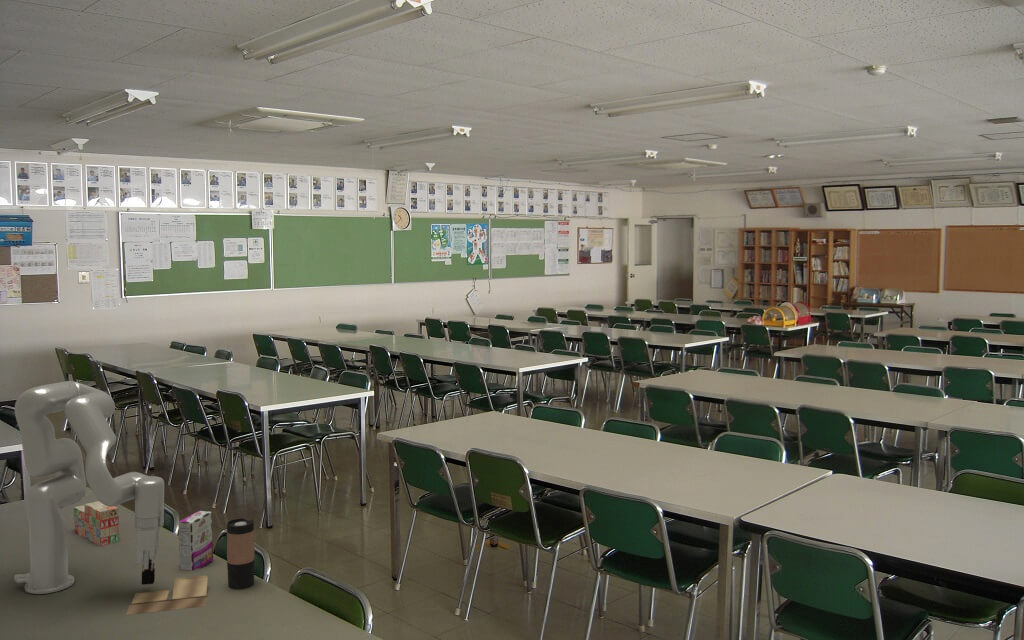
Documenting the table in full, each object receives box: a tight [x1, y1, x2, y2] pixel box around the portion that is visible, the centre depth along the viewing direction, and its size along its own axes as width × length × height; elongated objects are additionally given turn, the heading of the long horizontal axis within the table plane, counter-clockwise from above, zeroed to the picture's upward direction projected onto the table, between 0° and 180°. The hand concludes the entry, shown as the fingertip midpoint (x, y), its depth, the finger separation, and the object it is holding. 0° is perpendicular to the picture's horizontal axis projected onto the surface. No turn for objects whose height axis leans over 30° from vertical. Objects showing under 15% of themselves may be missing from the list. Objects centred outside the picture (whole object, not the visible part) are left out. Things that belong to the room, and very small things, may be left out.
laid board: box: [125, 595, 208, 616], centre depth 217 cm, size 20×7×1 cm, turn 107°
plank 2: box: [172, 574, 209, 599], centre depth 225 cm, size 9×7×1 cm
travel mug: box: [226, 517, 256, 590], centre depth 231 cm, size 8×8×20 cm
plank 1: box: [130, 589, 170, 604], centre depth 222 cm, size 9×7×1 cm
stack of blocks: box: [73, 500, 120, 547], centre depth 272 cm, size 21×6×12 cm, turn 50°
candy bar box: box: [177, 510, 214, 571], centre depth 246 cm, size 11×5×16 cm, turn 168°
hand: (148, 583), depth 224 cm, fingers closed
